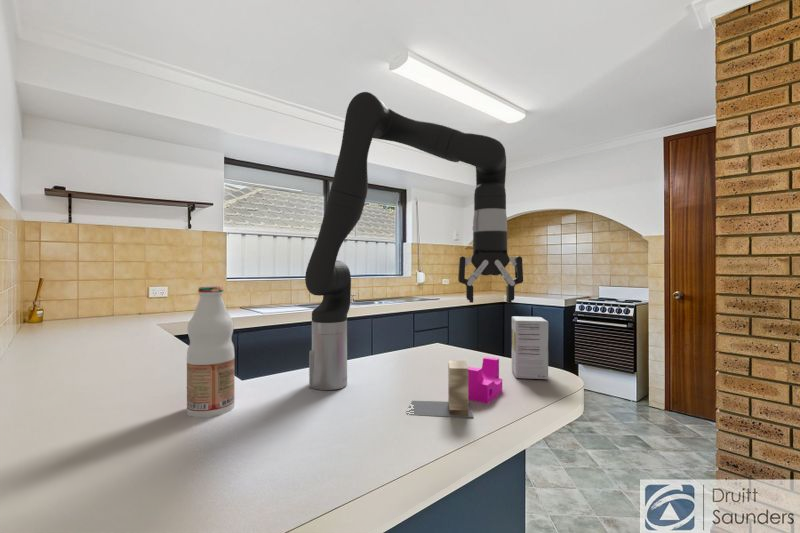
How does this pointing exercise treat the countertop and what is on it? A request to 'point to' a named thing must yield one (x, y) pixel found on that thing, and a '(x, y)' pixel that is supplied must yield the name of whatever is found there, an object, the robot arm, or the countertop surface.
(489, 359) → the toy block
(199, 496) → the countertop surface
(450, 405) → the ash block
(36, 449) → the countertop surface
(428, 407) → the mat
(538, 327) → the supplement box
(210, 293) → the fruit juice
